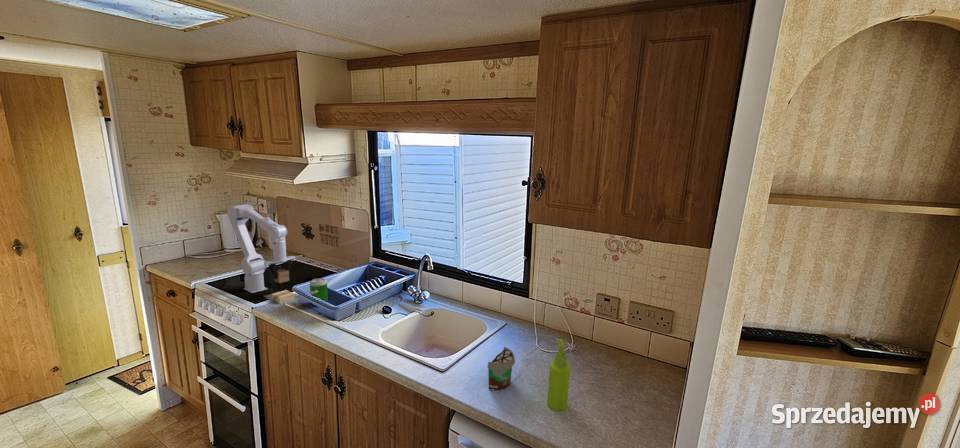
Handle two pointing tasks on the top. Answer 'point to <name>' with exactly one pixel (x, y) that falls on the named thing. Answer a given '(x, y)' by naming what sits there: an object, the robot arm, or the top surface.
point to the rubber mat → (275, 301)
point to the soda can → (319, 288)
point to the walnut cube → (282, 276)
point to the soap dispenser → (559, 379)
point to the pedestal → (283, 296)
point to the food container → (501, 370)
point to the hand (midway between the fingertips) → (281, 277)
